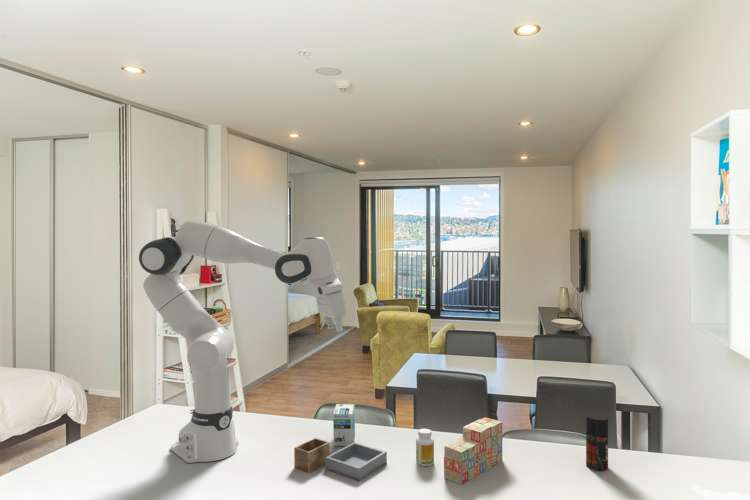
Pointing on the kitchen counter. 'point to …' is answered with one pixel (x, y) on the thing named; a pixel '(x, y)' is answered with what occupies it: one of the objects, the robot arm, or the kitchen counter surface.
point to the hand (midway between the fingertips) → (335, 329)
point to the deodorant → (597, 442)
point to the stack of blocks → (474, 450)
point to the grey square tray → (356, 461)
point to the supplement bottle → (424, 448)
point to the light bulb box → (344, 424)
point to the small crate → (311, 455)
